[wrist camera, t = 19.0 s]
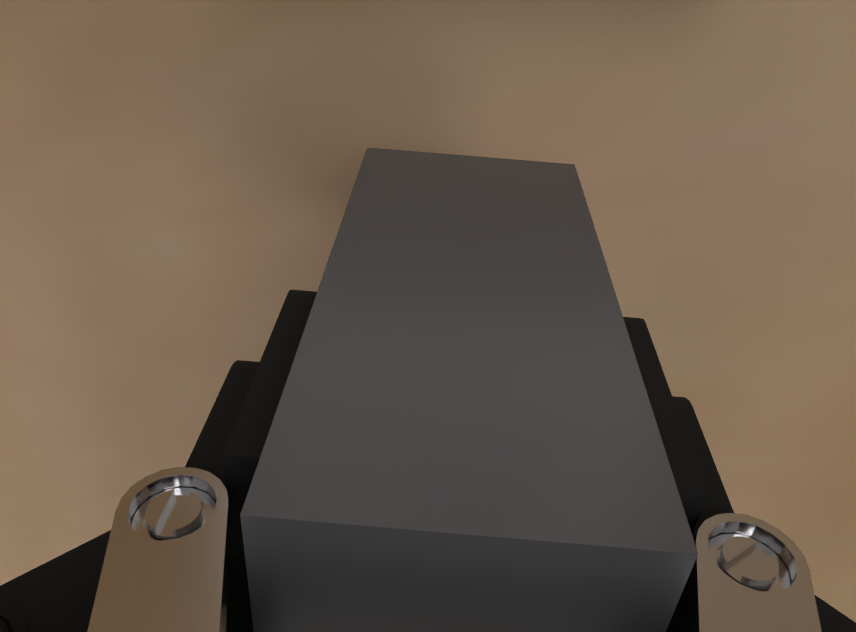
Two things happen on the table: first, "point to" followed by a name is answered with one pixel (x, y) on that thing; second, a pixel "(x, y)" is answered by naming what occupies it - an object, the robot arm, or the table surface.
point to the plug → (465, 422)
